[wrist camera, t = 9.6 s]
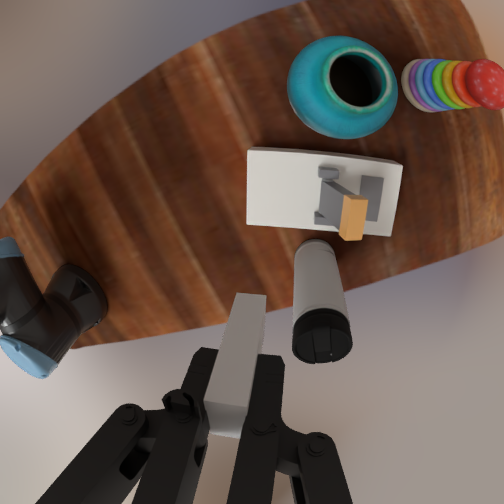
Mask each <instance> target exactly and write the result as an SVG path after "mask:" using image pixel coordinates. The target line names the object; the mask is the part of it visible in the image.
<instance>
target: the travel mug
mask: <svg viewBox="0 0 504 504" xmlns="http://www.w3.org/2000/svg"><path fill="white" fill-rule="evenodd" d="M292 331H293V339H292V351H293V353H294V355H295V356H296V357H297V358H298V359H299V360H301V361H303V362H305V363H309V364H315V363H327V362H331V361H332V362H335V361H338V360H340V359H342V358H344V357H345V356H346V355H347V354H348V353H349V352H350V350H351V348H352V345H353V344H352V343H353V342H352V336H351V331H350V322H349V317H348V313H347V307H346V303H345V298H344V293H343V288H342V284H341V279H340V275H339V270H338V266H337V262H336V258H335V254H334V250H333V248H332V247H331V246H330V245H329V244H328V243H327V242H325V241H323V240H319V239H311V240H307V241H305V242H303V243H302V244H301V245H300V246H299V247H298V248H297V250H296V252H295V262H294V300H293V327H292Z"/></svg>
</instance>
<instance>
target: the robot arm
mask: <svg viewBox="0 0 504 504" xmlns="http://www.w3.org/2000/svg"><path fill="white" fill-rule="evenodd" d="M265 311H266V295H256V294H245V293H237V294H236V297H235V300H234V303H233V306H232V310H231V313H230V316H229V319H228V322H227V326H226V329H225V332H224V335H223V339H222V342H221V345H220V349H219V350H217V349H211V348H204V347H201V348H200V349H199V350H198V351H197V352H196V353H195V354H194V355H193V358H192V360H191V363H190V366H189V368H188V372H187V374H186V376H185V378H184V381H183V384H182V386H181V389H176V390H172V391H170V392H168V393H167V394H165V396H164V397H163V399H162V401H163V404H164V407H165V409H161V410H143V409H142V408H141V407H139V406H138V405H136V404H124V405H121V406H120V407H119V408H117V409H116V410H115V411H114V413H113V414H112V415H111V416H110V417H109V418H108V420H107V421H106V422H105V423H104V424H103V425H102V427H101V428H100V429H99V430H98V431H97V432H96V434H95V435H94V436H93V437H92V438H91V439H90V441H89V442H88V443H87V444H86V445H85V446H84V447H83V449H82V450H81V451H80V452H79V453H78V455H77V456H76V457H75V458H74V459H73V460H72V461H71V463H70V464H69V465H68V466H67V467H66V468H65V470H64V471H63V472H62V473H61V474H60V476H59V477H58V478H57V479H56V480H55V481H54V483H53V484H52V485H51V486H50V487H49V488H48V489H47V491H46V492H45V493H44V494H43V495H42V496H41V498H40V499H39V500H38V501H37V502H36V503H35V504H121V503H122V502H123V501H124V499H125V498H126V497H127V496H128V494H129V493H130V491H131V490H132V489H133V487H134V486H135V485H136V483H137V482H138V481H139V479H140V478H141V479H140V482H139V485H138V488H137V490H136V493H135V496H134V499H133V501H132V504H193V500H194V496H195V492H196V488H197V484H198V481H199V477H200V474H201V469H202V466H203V462H204V458H205V455H206V451H207V447H208V440H207V437H208V434H209V430H210V432H211V434H214V435H220V436H227V437H234V438H240V442H239V447H238V451H237V456H236V461H235V466H234V471H233V475H232V480H231V485H230V490H229V494H228V499H227V504H271V501H272V494H273V486H274V478H275V470H276V471H278V472H281V473H284V474H287V475H289V478H290V483H291V488H292V493H293V498H294V503H295V504H353V502H352V499H351V496H350V492H349V489H348V485H347V483H346V479H345V475H344V472H343V469H342V466H341V463H340V459H339V456H338V453H337V449H336V446H335V443H334V441H333V440H332V438H331V437H329V436H328V435H327V434H323V433H321V432H312V433H309V434H302V433H300V432H297V431H294V430H292V429H290V428H289V427H288V426H286V425H285V423H284V422H283V420H282V418H281V407H282V395H283V383H284V371H285V364H284V362H283V360H282V357H281V356H277V355H266V354H261V352H262V345H263V339H264V329H265ZM106 313H107V301H106V298H105V295H104V293H103V291H102V289H101V288H100V286H99V285H98V283H97V282H96V281H95V280H94V279H93V277H92V276H91V275H89V274H88V273H87V272H86V271H84V270H83V269H81V268H79V267H77V266H75V265H63V266H62V267H60V268H59V269H58V270H57V271H56V272H55V273H54V274H53V276H52V278H51V281H50V283H49V284H48V286H47V288H46V290H45V292H44V294H43V295H42V293H41V291H40V289H39V287H38V285H37V283H36V282H35V280H34V278H33V276H32V274H31V272H30V269H29V267H28V265H27V263H26V261H25V259H24V255H23V254H22V253H21V251H20V249H19V247H18V245H17V243H16V241H15V239H13V238H12V237H5V238H2V239H0V330H1V332H2V333H3V335H1V336H0V345H1V348H2V349H3V351H4V352H5V353H6V354H7V356H8V357H9V358H10V359H11V360H12V361H13V362H14V363H15V364H16V365H18V366H19V367H20V368H21V369H23V370H24V371H25V372H27V373H28V374H30V375H32V376H34V377H36V378H41V379H44V378H47V377H48V376H49V375H50V374H51V373H52V372H53V370H54V369H55V368H57V367H58V364H59V363H60V361H61V360H62V358H63V357H64V356H65V354H66V353H67V352H68V350H69V349H70V348H71V346H72V345H73V344H74V342H75V341H76V340H77V338H78V337H79V336H80V335H81V334H82V333H84V332H85V331H87V330H89V329H91V328H92V327H94V326H96V325H98V324H99V323H100V322H101V321H102V319H103V318H104V317H105V315H106ZM141 476H142V477H141Z"/></svg>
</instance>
